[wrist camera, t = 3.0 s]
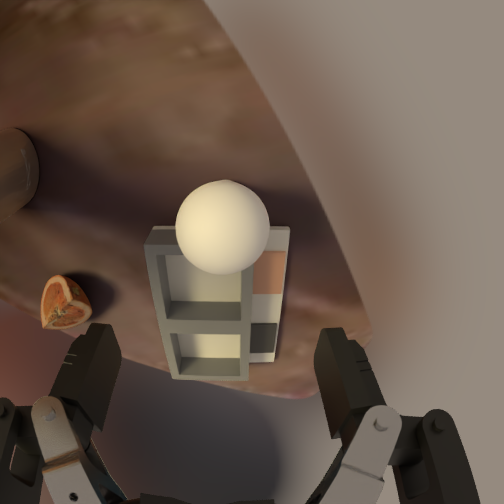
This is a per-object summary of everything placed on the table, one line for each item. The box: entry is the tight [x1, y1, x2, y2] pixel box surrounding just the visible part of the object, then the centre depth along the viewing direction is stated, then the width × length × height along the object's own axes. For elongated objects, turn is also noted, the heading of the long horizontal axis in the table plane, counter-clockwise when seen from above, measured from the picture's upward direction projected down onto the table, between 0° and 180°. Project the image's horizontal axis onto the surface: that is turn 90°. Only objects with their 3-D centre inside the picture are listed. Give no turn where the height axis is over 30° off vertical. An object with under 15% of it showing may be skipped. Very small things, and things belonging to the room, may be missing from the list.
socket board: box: [144, 226, 290, 381], centre depth 31 cm, size 13×19×4 cm
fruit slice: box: [41, 275, 92, 330], centre depth 29 cm, size 8×7×5 cm
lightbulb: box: [175, 180, 270, 275], centre depth 21 cm, size 6×6×11 cm
